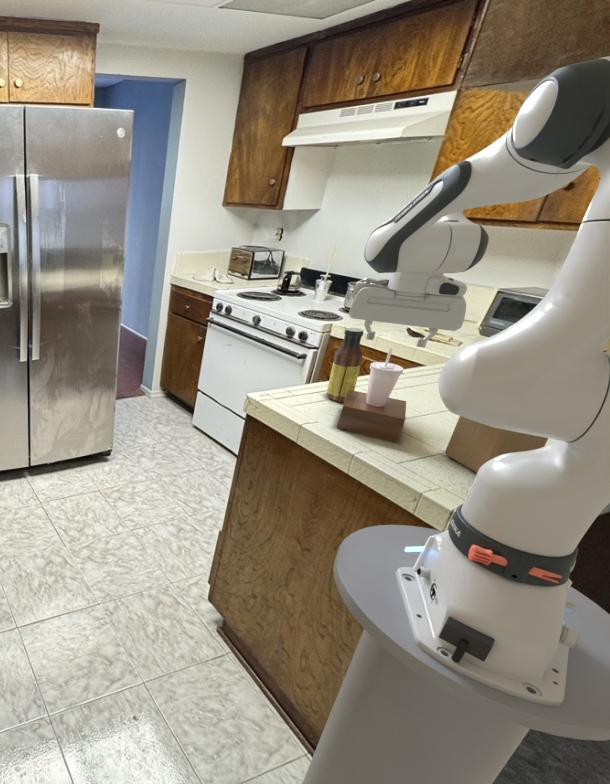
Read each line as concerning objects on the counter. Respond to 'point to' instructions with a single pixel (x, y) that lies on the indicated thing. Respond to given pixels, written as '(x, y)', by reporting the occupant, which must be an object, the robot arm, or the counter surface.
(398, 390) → the counter surface
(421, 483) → the counter surface
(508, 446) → the wooden block
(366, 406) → the walnut block
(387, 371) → the smoothie
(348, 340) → the sauce bottle
